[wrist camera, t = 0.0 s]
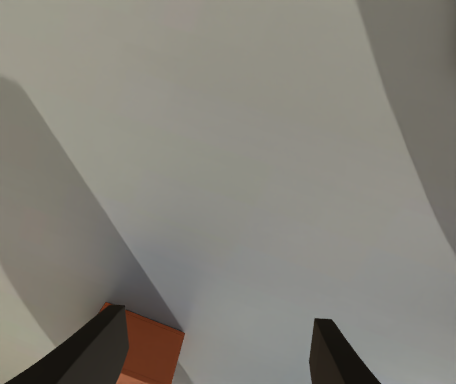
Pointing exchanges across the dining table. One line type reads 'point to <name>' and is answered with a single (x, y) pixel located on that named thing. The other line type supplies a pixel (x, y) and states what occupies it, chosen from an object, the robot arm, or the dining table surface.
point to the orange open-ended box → (149, 351)
